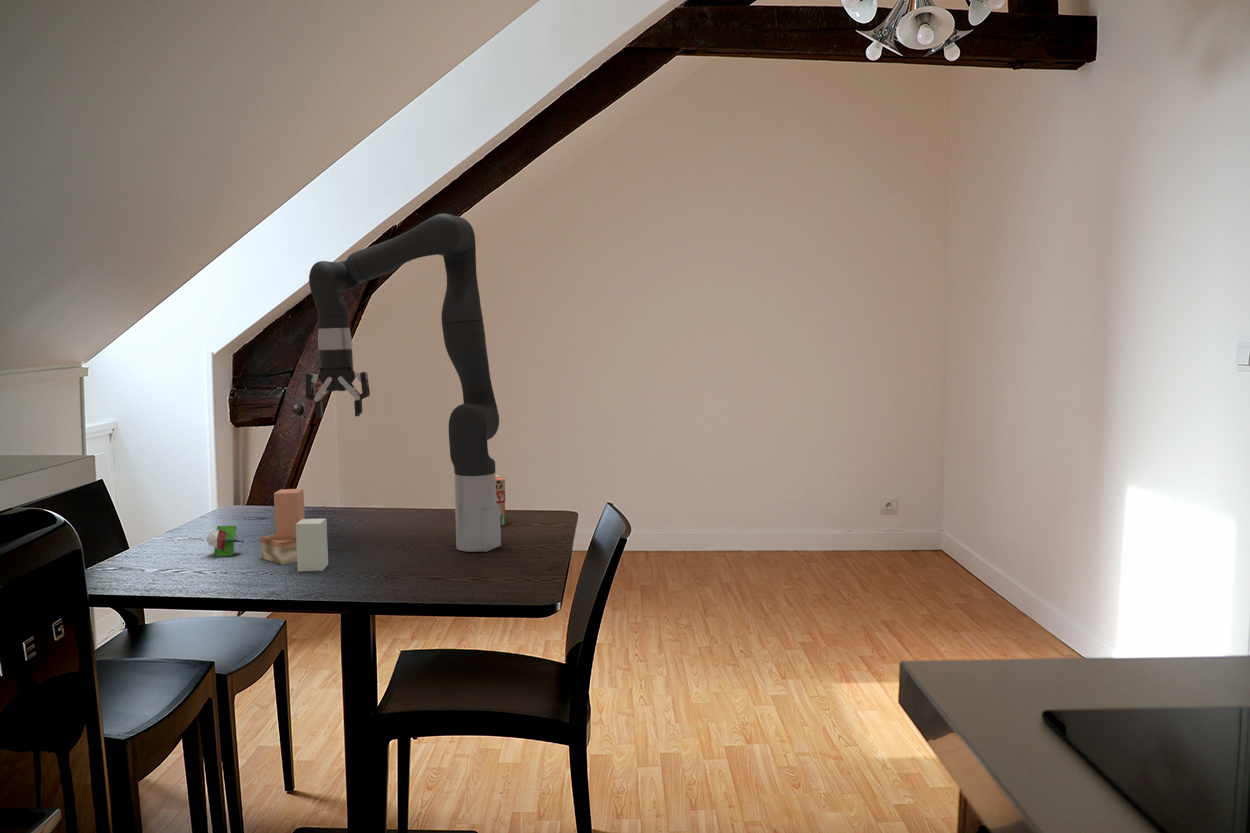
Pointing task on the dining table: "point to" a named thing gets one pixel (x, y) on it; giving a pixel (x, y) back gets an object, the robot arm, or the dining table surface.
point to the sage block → (311, 544)
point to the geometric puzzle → (223, 540)
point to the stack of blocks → (500, 497)
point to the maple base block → (279, 549)
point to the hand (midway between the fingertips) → (339, 416)
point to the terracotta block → (288, 512)
